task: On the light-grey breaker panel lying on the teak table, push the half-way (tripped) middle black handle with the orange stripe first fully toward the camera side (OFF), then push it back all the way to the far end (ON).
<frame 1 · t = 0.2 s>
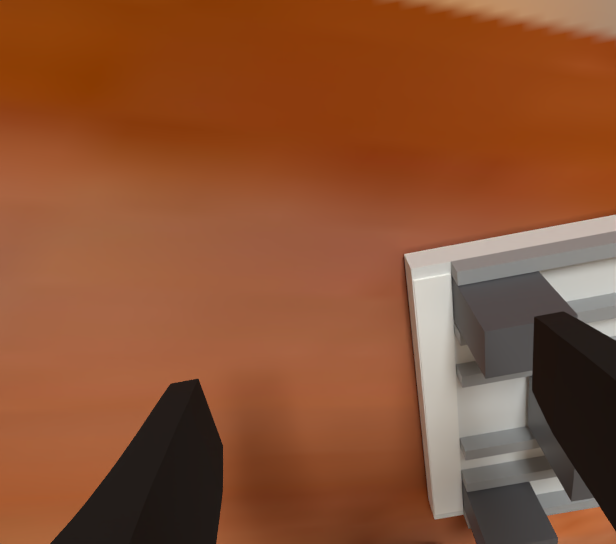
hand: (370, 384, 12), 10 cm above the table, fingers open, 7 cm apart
tripped breaker: (587, 430, 21), point 4 cm above the table, slide at 3.0 cm
panel: (541, 373, 25), on the table
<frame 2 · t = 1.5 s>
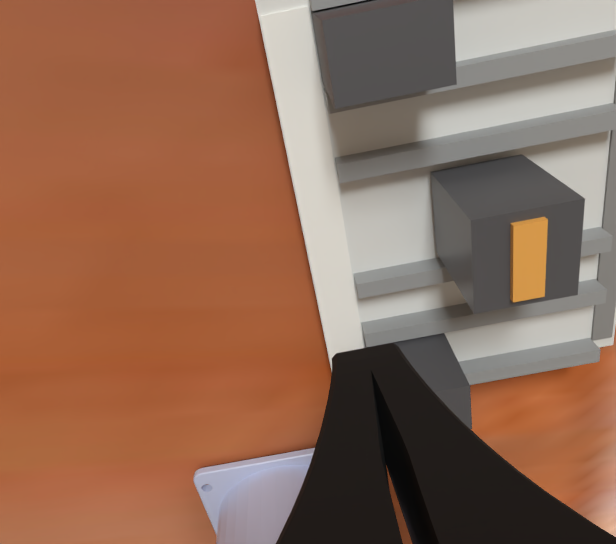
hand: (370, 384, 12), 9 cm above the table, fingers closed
tripped breaker: (500, 230, 16), point 4 cm above the table, slide at 3.0 cm
panel: (456, 191, 20), on the table
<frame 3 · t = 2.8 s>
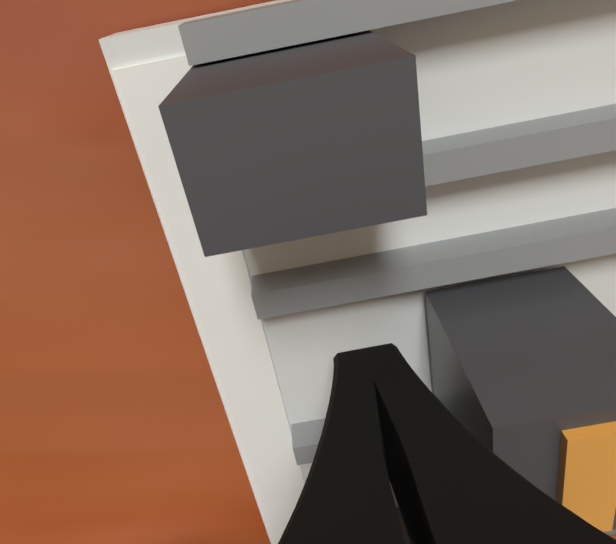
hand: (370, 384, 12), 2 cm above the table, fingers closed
tripped breaker: (534, 398, 10), point 4 cm above the table, slide at 2.4 cm, touching gripper
panel: (440, 306, 14), on the table
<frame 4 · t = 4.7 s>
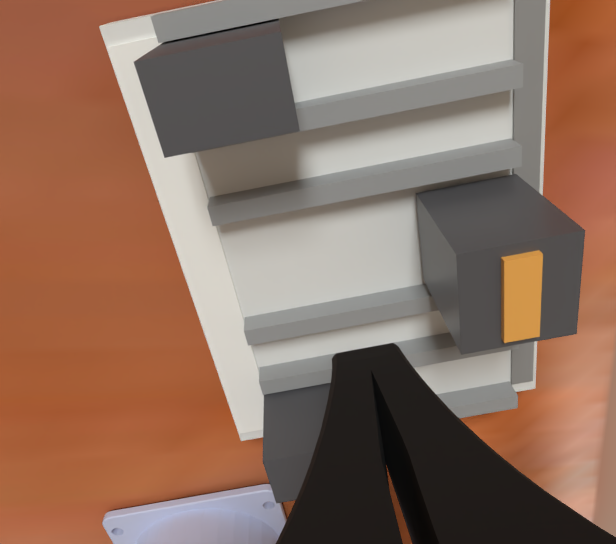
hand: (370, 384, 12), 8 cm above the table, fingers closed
tripped breaker: (491, 260, 15), point 4 cm above the table, slide at 0.0 cm
panel: (356, 228, 18), on the table
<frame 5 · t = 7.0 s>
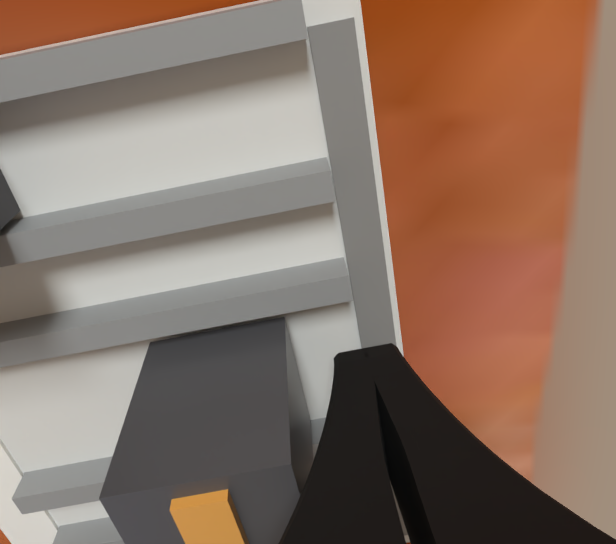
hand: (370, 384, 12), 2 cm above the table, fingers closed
tripped breaker: (227, 452, 11), point 4 cm above the table, slide at 1.5 cm, touching gripper
panel: (170, 355, 14), on the table
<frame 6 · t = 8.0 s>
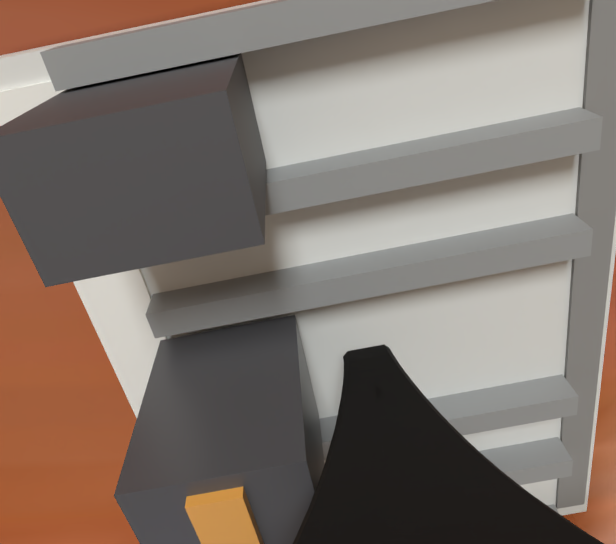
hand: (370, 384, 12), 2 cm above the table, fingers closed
tripped breaker: (239, 450, 11), point 4 cm above the table, slide at 6.1 cm, touching gripper
panel: (356, 320, 14), on the table
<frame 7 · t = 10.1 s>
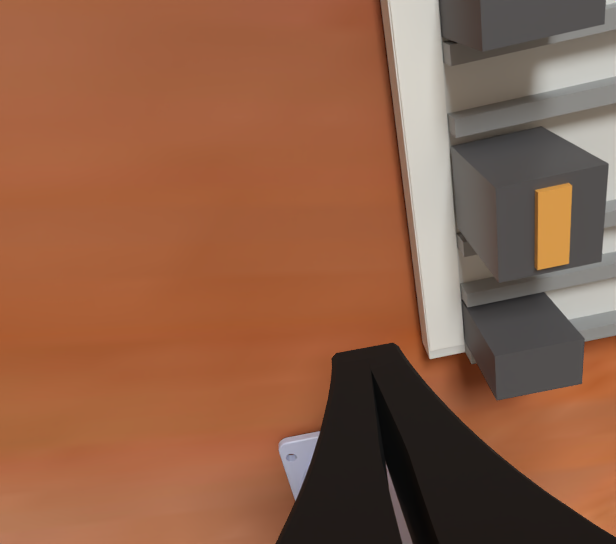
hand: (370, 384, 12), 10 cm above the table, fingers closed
tripped breaker: (522, 201, 17), point 4 cm above the table, slide at 6.0 cm
panel: (558, 148, 20), on the table
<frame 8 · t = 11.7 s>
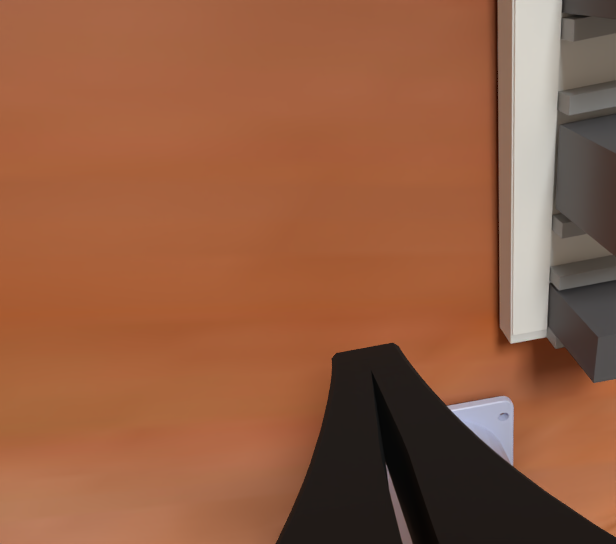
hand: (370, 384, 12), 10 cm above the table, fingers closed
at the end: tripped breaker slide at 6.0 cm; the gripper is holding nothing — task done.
